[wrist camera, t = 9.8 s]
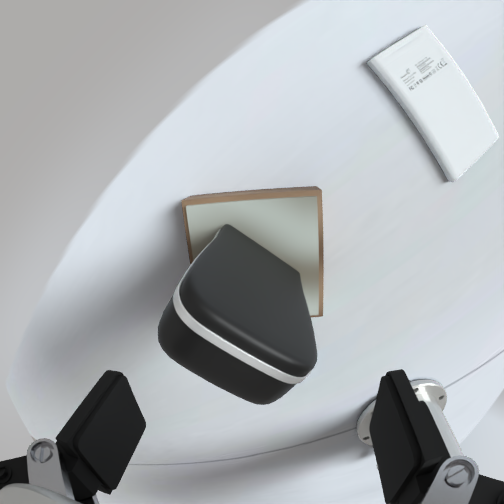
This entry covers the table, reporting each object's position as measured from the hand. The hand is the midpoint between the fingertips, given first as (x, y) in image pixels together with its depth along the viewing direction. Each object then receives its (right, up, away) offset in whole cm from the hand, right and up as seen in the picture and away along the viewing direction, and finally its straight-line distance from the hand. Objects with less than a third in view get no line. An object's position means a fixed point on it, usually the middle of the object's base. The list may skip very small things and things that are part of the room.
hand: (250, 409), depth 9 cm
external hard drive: (+17, +19, +10) cm, 27 cm away
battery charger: (0, +5, +12) cm, 13 cm away
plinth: (+1, +6, +15) cm, 16 cm away
